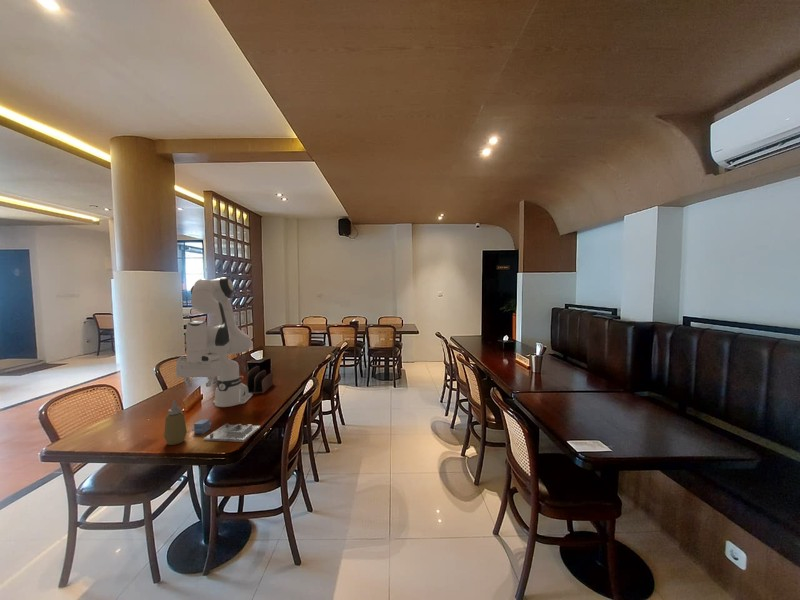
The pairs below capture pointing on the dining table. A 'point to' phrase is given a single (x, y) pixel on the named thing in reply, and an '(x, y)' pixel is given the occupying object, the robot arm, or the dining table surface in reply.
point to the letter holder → (258, 381)
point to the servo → (201, 426)
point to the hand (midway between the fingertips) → (198, 386)
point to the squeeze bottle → (175, 425)
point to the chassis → (232, 433)
